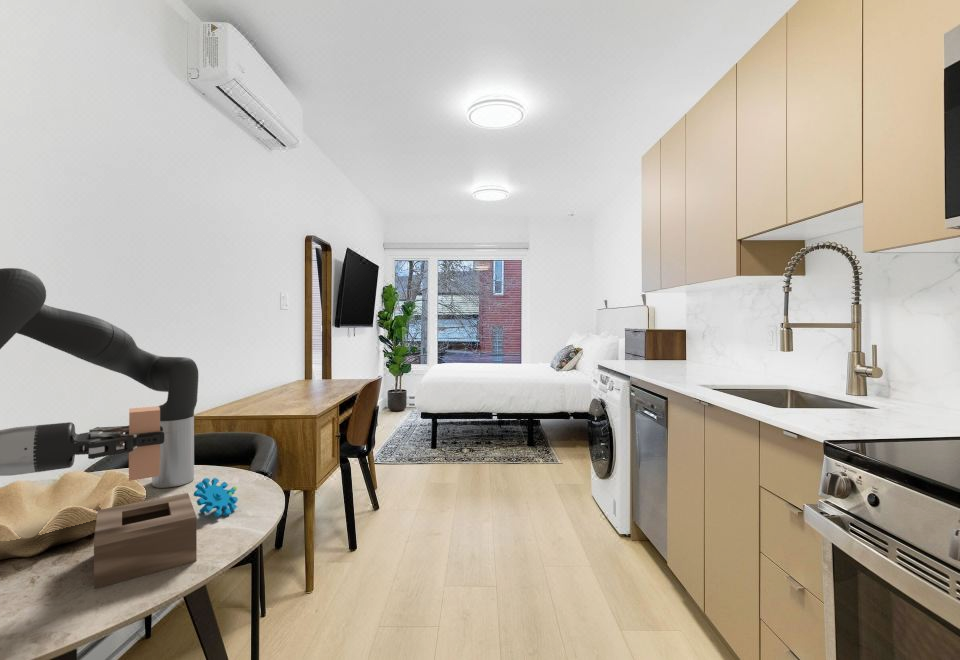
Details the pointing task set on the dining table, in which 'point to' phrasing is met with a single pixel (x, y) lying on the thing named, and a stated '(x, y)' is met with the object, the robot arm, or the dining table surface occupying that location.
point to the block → (144, 457)
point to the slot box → (144, 538)
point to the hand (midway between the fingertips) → (162, 434)
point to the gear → (215, 497)
